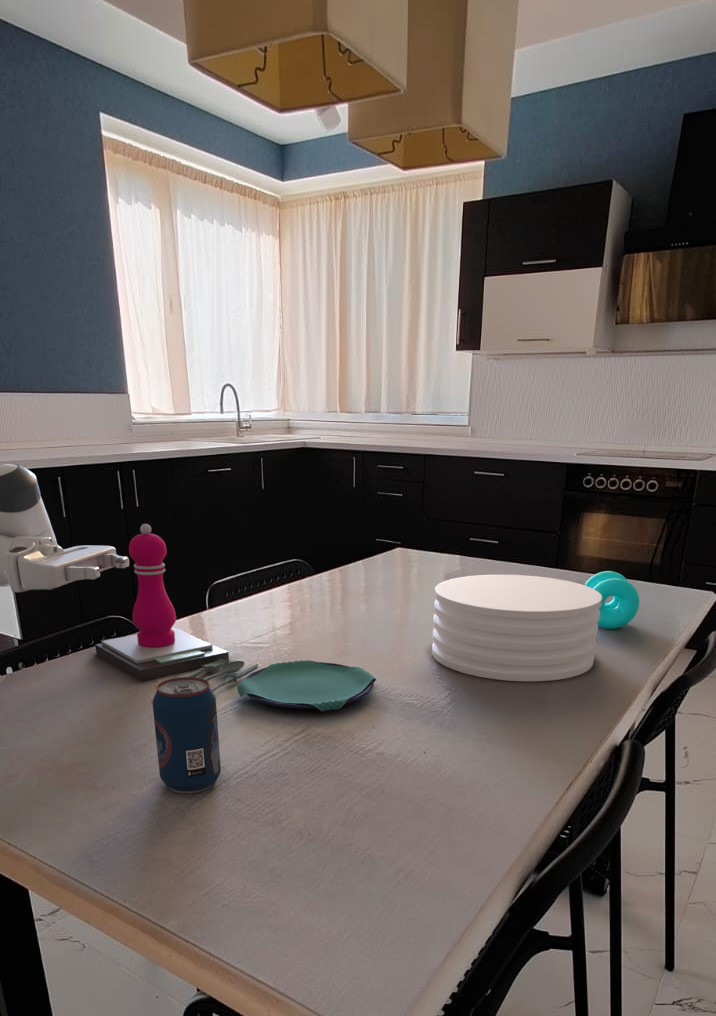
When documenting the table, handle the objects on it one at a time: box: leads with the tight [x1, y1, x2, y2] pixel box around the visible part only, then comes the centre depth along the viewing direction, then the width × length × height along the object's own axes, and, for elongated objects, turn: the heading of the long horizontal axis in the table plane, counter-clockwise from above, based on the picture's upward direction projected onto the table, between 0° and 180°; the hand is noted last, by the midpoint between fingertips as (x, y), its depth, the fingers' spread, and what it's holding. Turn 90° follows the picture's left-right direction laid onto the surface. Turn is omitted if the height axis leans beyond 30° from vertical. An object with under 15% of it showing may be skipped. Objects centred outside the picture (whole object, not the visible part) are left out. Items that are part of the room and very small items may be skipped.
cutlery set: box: [184, 659, 377, 712], centre depth 119 cm, size 20×30×2 cm, turn 66°
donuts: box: [584, 570, 640, 630], centre depth 154 cm, size 10×10×10 cm
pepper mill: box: [128, 523, 177, 647], centre depth 129 cm, size 7×7×20 cm
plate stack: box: [431, 574, 602, 682], centre depth 134 cm, size 28×28×12 cm
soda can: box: [152, 676, 222, 794], centre depth 87 cm, size 7×7×12 cm
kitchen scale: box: [94, 627, 230, 682], centre depth 132 cm, size 18×16×2 cm
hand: (112, 567), depth 129 cm, fingers open, 8 cm apart
